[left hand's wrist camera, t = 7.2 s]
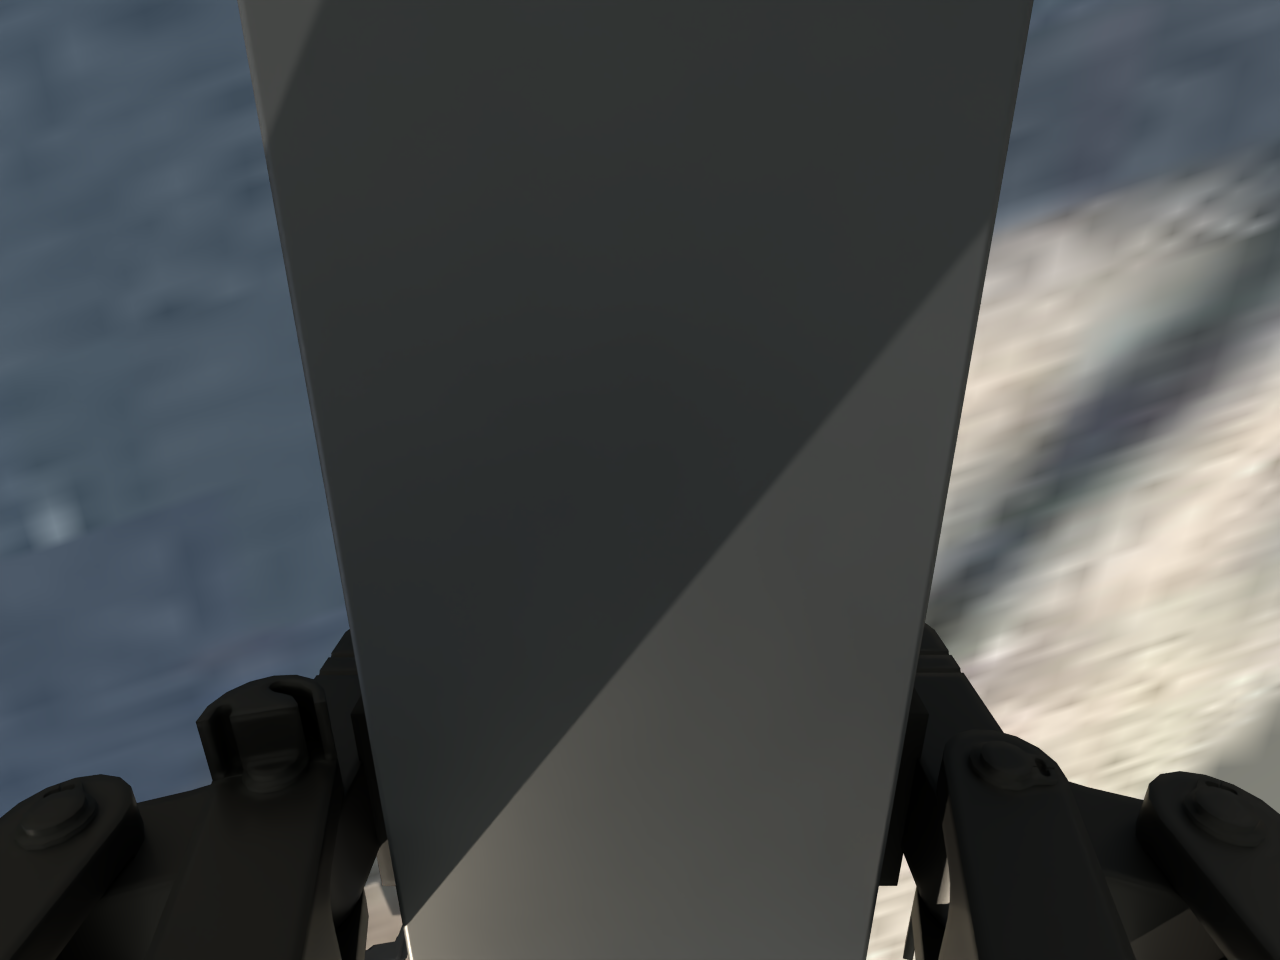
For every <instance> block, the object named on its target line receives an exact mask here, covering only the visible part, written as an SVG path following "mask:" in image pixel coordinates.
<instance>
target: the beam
mask: <svg viewBox="0 0 1280 960" xmlns="http://www.w3.org/2000/svg"><path fill="white" fill-rule="evenodd" d="M237 1H238V7H239V12H240V18H241V23H242V29H243V34H244V40H245V46H246V51H247V57H248V62H249V68H250V74H251V79H252V85H253V90H254V96H255V102H256V107H257V113H258V118H259V124H260V130H261V135H262V141H263V146H264V152H265V157H266V163H267V169H268V174H269V180H270V185H271V191H272V197H273V202H274V208H275V213H276V219H277V225H278V230H279V236H280V241H281V247H282V252H283V258H284V264H285V269H286V275H287V280H288V286H289V292H290V297H291V303H292V308H293V314H294V320H295V325H296V331H297V336H298V342H299V347H300V353H301V359H302V364H303V370H304V375H305V381H306V387H307V392H308V398H309V403H310V409H311V415H312V420H313V426H314V431H315V437H316V442H317V448H318V454H319V459H320V465H321V470H322V476H323V482H324V487H325V493H326V498H327V504H328V510H329V515H330V521H331V526H332V532H333V538H334V543H335V549H336V554H337V560H338V565H339V571H340V577H341V582H342V588H343V593H344V599H345V605H346V610H347V616H348V621H349V627H350V633H351V638H352V644H353V649H354V655H355V660H356V666H357V672H358V677H359V683H360V688H361V694H362V700H363V705H364V711H365V716H366V722H367V728H368V733H369V739H370V744H371V750H372V755H373V761H374V767H375V772H376V778H377V783H378V789H379V795H380V800H381V806H382V811H383V817H384V823H385V828H386V834H387V839H388V845H389V850H390V856H391V862H392V867H393V873H394V878H395V884H396V890H397V895H398V901H399V906H400V912H401V918H402V923H403V929H404V934H405V940H406V945H407V951H408V957H409V960H866V956H867V950H868V945H869V939H870V933H871V927H872V922H873V916H874V910H875V905H876V899H877V893H878V887H879V882H880V876H881V870H882V865H883V859H884V853H885V847H886V842H887V836H888V830H889V824H890V819H891V813H892V807H893V802H894V796H895V790H896V784H897V779H898V773H899V767H900V762H901V756H902V750H903V744H904V739H905V733H906V727H907V722H908V716H909V710H910V704H911V699H912V693H913V687H914V681H915V676H916V670H917V664H918V659H919V653H920V647H921V641H922V636H923V630H924V624H925V619H926V613H927V607H928V601H929V596H930V590H931V584H932V578H933V573H934V567H935V561H936V556H937V550H938V544H939V538H940V533H941V527H942V521H943V516H944V510H945V504H946V498H947V493H948V487H949V481H950V476H951V470H952V464H953V458H954V453H955V447H956V441H957V435H958V430H959V424H960V418H961V413H962V407H963V401H964V395H965V390H966V384H967V378H968V373H969V367H970V361H971V355H972V350H973V344H974V338H975V332H976V327H977V321H978V315H979V310H980V304H981V298H982V292H983V287H984V281H985V275H986V270H987V264H988V258H989V252H990V247H991V241H992V235H993V230H994V224H995V218H996V212H997V207H998V201H999V195H1000V189H1001V184H1002V178H1003V172H1004V167H1005V161H1006V155H1007V149H1008V144H1009V138H1010V132H1011V127H1012V121H1013V115H1014V109H1015V104H1016V98H1017V92H1018V86H1019V81H1020V75H1021V69H1022V64H1023V58H1024V52H1025V46H1026V41H1027V35H1028V29H1029V24H1030V18H1031V12H1032V6H1033V1H1034V0H237Z"/></svg>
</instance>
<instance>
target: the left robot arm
mask: <svg viewBox="0 0 1280 960" xmlns="http://www.w3.org/2000/svg"><path fill="white" fill-rule="evenodd" d="M196 724H197V728H198V731H199V735H200V738H201V742H202V745H203V749H204V752H205V756H206V759H207V763H208V766H209V770H210V773H211V777H212V780H213V781H212V783H211V785H208V786H204V787H201V788H198V789H195V790H191V791H187V792H182V793H178V794H174V795H170V796H165V797H161V798H157V799H152V800H148V801H144V802H139V803H137V802H136V800H135V797H134V794H133V791H132V788H131V786H130V785H129V784H127V783H126V782H125V781H124V780H123V779H122V778H120V777H115V776H109V775H102V774H99V775H92V776H85V777H78V778H74V779H71V780H68V781H65V782H62V783H59V784H56V785H54V786H51V787H48V788H46V789H44V790H42V791H40V792H38V793H36V794H35V795H33V796H31V797H29V798H27V799H26V800H24V801H22V802H20V803H18V804H17V805H16V806H15V807H13V808H12V809H11V810H10V811H8V812H7V813H6V814H5V815H3V816H2V817H1V818H0V960H365V949H366V939H367V928H368V918H369V915H368V909H367V902H366V896H365V891H364V886H365V883H366V881H367V878H368V876H369V873H370V871H371V868H372V866H373V863H374V861H375V858H376V856H377V860H378V865H379V870H380V876H381V881H382V886H396V884H395V878H394V873H393V867H392V862H391V856H390V850H389V845H388V839H387V834H386V828H385V823H384V817H383V811H382V806H381V800H380V795H379V789H378V783H377V778H376V772H375V767H374V761H373V755H372V750H371V744H370V739H369V733H368V728H367V722H366V716H365V711H364V705H363V700H362V694H361V688H360V683H359V677H358V672H357V666H356V660H355V655H354V649H353V644H352V638H351V633H350V629H349V630H348V631H346V632H345V634H344V635H343V637H342V638H341V640H340V641H339V643H338V644H337V646H336V647H335V649H334V650H333V652H332V653H331V657H329V658H328V659H327V661H326V662H325V664H324V665H323V667H322V668H321V670H320V674H319V675H316V677H315V678H314V679H310V678H306V677H303V676H299V675H280V676H271V677H267V678H263V679H259V680H255V681H251V682H248V683H246V684H244V685H242V686H239V687H237V688H235V689H233V690H231V691H228V692H226V693H225V694H224V695H222V696H221V697H220V698H218V699H217V700H215V701H214V702H213V703H211V704H210V705H209V706H207V708H206V709H205V710H204V712H203V713H202V714H201V716H200V717H199V718H198V720H197V721H196ZM903 853H904V856H905V858H906V861H907V863H908V866H909V868H910V871H911V873H912V876H913V878H914V881H915V883H916V891H915V896H914V901H913V906H912V911H911V916H910V921H909V926H908V931H907V936H906V941H905V948H904V955H903V959H907V960H913V955H914V950H915V958H916V960H1280V814H1279V813H1277V812H1276V811H1275V810H1274V809H1272V808H1271V807H1270V806H1269V805H1267V804H1266V803H1265V802H1264V801H1262V800H1261V799H1259V798H1257V797H1255V796H1254V795H1252V794H1250V793H1248V792H1246V791H1244V790H1243V789H1241V788H1239V787H1237V786H1235V785H1233V784H1230V783H1227V782H1225V781H1222V780H1219V779H1216V778H1213V777H1210V776H1207V775H1203V774H1196V773H1189V772H1182V771H1178V772H1171V773H1165V774H1160V775H1159V776H1158V777H1156V778H1155V779H1154V780H1153V781H1152V782H1151V783H1149V786H1148V789H1147V792H1146V795H1145V798H1144V800H1141V799H1136V798H1132V797H1128V796H1123V795H1119V794H1115V793H1110V792H1106V791H1102V790H1097V789H1093V788H1089V787H1085V786H1082V785H1079V784H1075V783H1072V782H1069V781H1068V780H1067V778H1066V776H1065V775H1064V773H1063V772H1062V770H1061V769H1060V767H1059V766H1058V764H1057V763H1056V762H1055V761H1054V760H1053V759H1051V758H1050V757H1049V756H1048V755H1047V754H1045V753H1044V752H1043V751H1042V750H1041V749H1039V748H1038V747H1036V746H1034V745H1032V744H1030V743H1028V742H1026V741H1024V740H1022V739H1020V738H1018V737H1016V736H1013V735H1009V734H1006V733H1004V732H1003V731H1002V729H1001V728H1000V726H999V725H998V723H997V722H996V720H995V719H994V718H993V716H992V715H991V713H990V712H989V710H988V709H987V707H986V706H985V704H984V703H983V701H982V700H981V698H980V697H979V695H978V694H977V692H976V691H975V689H974V688H973V686H972V685H971V683H970V682H969V680H968V679H967V677H966V676H965V674H964V673H961V671H960V667H959V666H958V664H957V663H956V661H955V660H954V658H953V657H952V655H949V651H948V649H947V648H946V646H945V645H944V643H943V642H942V640H941V639H940V637H939V636H938V634H937V633H936V631H935V630H934V629H933V628H931V627H930V626H928V625H927V624H926V623H925V624H924V630H923V636H922V641H921V647H920V653H919V659H918V664H917V670H916V676H915V681H914V687H913V693H912V699H911V704H910V710H909V716H908V722H907V727H906V733H905V739H904V744H903V750H902V756H901V762H900V767H899V773H898V779H897V784H896V790H895V796H894V802H893V807H892V813H891V819H890V824H889V830H888V836H887V842H886V847H885V853H884V859H883V865H882V870H881V876H880V882H879V886H897V884H898V879H899V873H900V868H901V863H902V857H903Z"/></svg>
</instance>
